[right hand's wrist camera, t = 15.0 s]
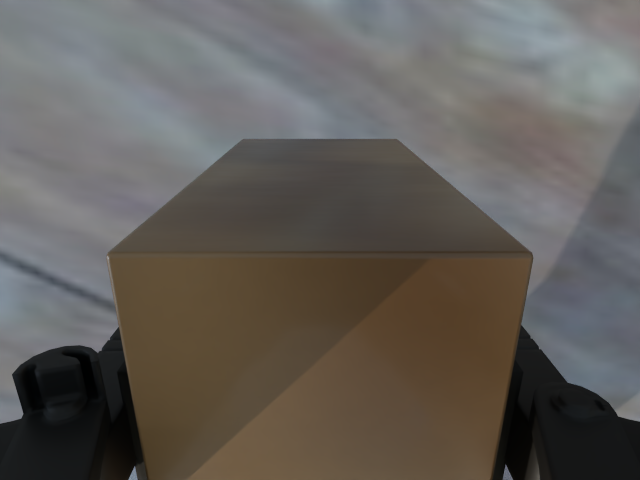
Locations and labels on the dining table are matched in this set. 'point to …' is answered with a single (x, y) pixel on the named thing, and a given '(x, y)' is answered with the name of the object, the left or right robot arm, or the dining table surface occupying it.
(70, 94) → the dining table surface
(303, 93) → the dining table surface
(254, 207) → the block
